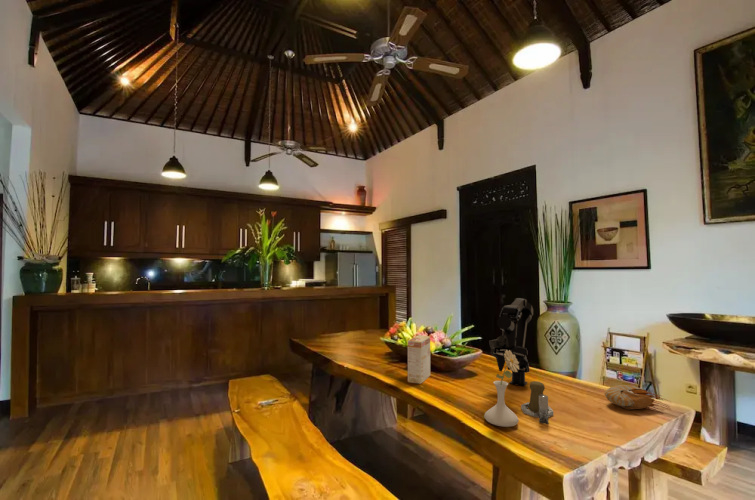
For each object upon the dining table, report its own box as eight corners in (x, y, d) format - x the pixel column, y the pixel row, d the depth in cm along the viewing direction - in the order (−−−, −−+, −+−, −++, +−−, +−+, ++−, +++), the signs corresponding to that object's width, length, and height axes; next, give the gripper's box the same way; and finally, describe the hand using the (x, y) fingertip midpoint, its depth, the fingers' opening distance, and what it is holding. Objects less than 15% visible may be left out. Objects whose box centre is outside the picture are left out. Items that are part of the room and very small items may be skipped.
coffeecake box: (417, 373, 184) (417, 334, 185) (431, 375, 181) (430, 336, 182) (406, 382, 171) (406, 340, 172) (421, 384, 168) (421, 341, 169)
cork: (548, 411, 137) (547, 382, 137) (543, 416, 132) (542, 385, 133) (531, 407, 141) (531, 378, 141) (526, 411, 136) (525, 382, 137)
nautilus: (670, 410, 140) (674, 426, 128) (605, 395, 152) (602, 408, 140) (671, 390, 140) (675, 404, 127) (606, 376, 152) (603, 388, 140)
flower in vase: (500, 432, 119) (499, 355, 120) (477, 419, 129) (476, 348, 131) (529, 426, 124) (528, 352, 125) (505, 413, 135) (505, 345, 136)
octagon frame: (519, 405, 142) (519, 382, 143) (547, 407, 140) (547, 384, 141) (529, 422, 127) (528, 396, 127) (560, 425, 125) (560, 398, 125)
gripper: (481, 331, 164) (478, 367, 159) (505, 328, 147) (502, 368, 142) (503, 337, 166) (500, 372, 161) (529, 334, 149) (527, 374, 144)
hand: (506, 371), depth 152 cm, fingers open, 9 cm apart
